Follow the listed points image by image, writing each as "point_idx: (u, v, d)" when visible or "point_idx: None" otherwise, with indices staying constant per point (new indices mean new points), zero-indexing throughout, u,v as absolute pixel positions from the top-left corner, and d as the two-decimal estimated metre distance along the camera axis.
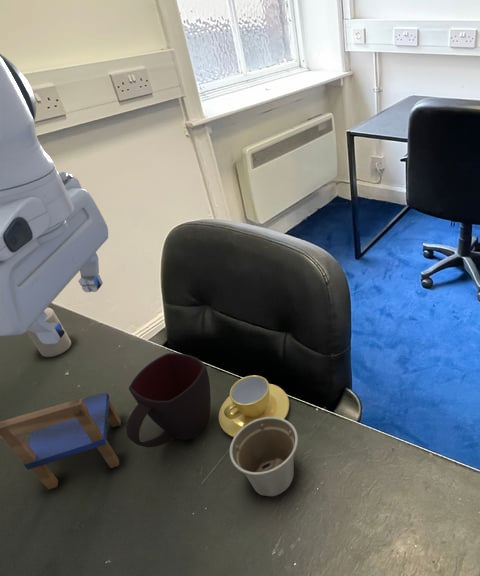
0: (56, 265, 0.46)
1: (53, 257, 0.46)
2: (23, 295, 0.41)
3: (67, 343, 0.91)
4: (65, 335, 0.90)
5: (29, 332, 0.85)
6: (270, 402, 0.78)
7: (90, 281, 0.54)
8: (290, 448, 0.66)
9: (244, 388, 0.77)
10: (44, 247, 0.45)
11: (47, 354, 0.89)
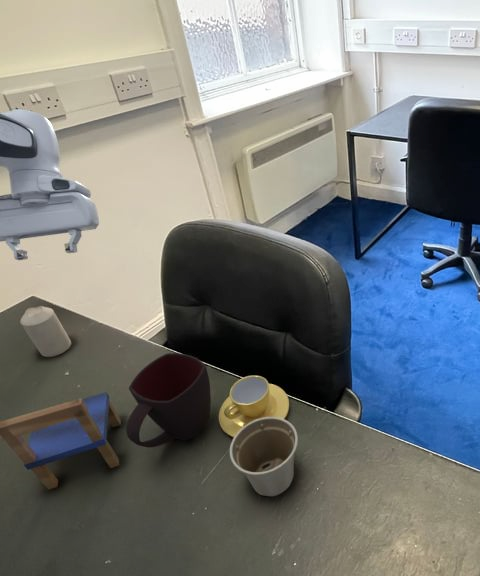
0: None
1: None
2: None
3: (67, 343, 0.91)
4: (65, 335, 0.90)
5: (29, 332, 0.85)
6: (270, 402, 0.78)
7: (25, 251, 0.90)
8: (290, 448, 0.66)
9: (244, 388, 0.77)
10: None
11: (47, 354, 0.89)
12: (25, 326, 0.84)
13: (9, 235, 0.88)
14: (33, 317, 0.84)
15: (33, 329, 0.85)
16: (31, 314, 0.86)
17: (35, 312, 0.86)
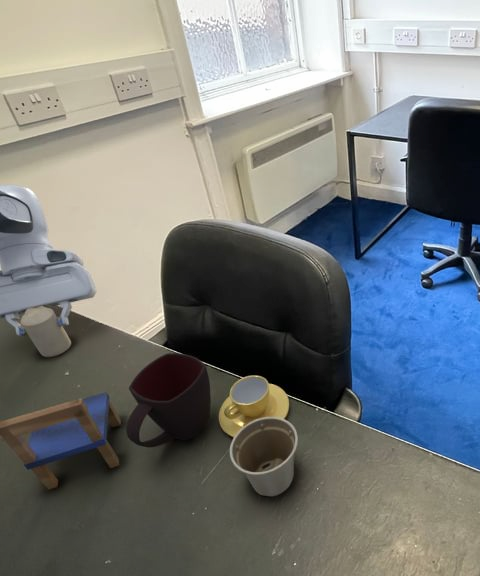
0: None
1: None
2: None
3: (67, 343, 0.91)
4: (65, 335, 0.90)
5: (29, 332, 0.85)
6: (270, 402, 0.78)
7: None
8: (290, 448, 0.66)
9: (244, 388, 0.77)
10: None
11: (47, 354, 0.89)
12: (25, 326, 0.84)
13: (2, 313, 0.85)
14: (33, 317, 0.84)
15: (33, 329, 0.85)
16: (31, 314, 0.86)
17: (35, 312, 0.86)
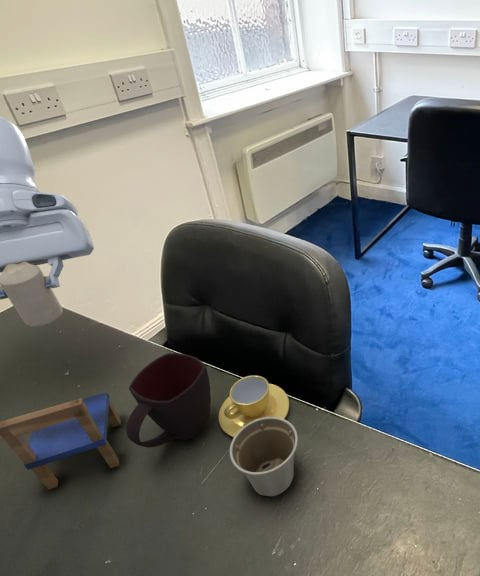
0: None
1: None
2: None
3: (58, 310, 0.73)
4: (55, 300, 0.73)
5: (9, 294, 0.68)
6: (270, 402, 0.78)
7: None
8: (290, 448, 0.66)
9: (244, 388, 0.77)
10: None
11: (32, 323, 0.71)
12: (4, 286, 0.67)
13: None
14: (14, 274, 0.67)
15: (13, 290, 0.67)
16: (11, 271, 0.68)
17: (17, 269, 0.69)
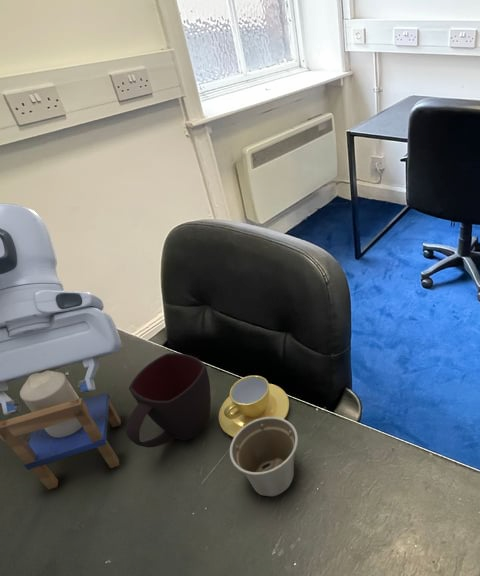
0: None
1: None
2: None
3: None
4: None
5: (32, 408, 0.61)
6: (270, 402, 0.78)
7: (18, 400, 0.63)
8: (290, 448, 0.66)
9: (244, 388, 0.77)
10: None
11: (57, 434, 0.65)
12: (27, 401, 0.61)
13: None
14: (38, 389, 0.61)
15: (37, 405, 0.61)
16: (35, 383, 0.62)
17: (40, 380, 0.62)
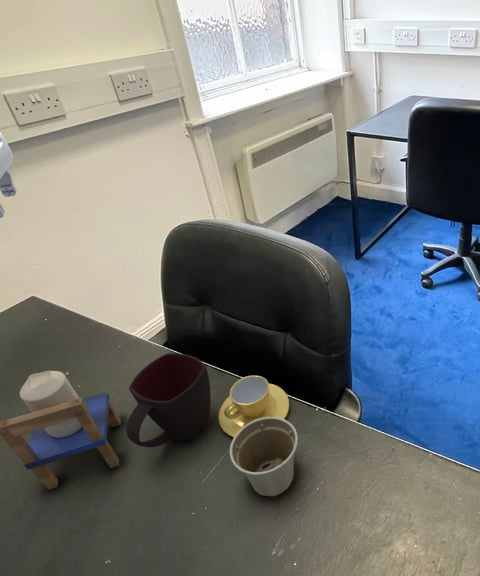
0: None
1: None
2: None
3: None
4: None
5: (32, 408, 0.61)
6: (270, 402, 0.78)
7: (9, 187, 0.77)
8: (290, 448, 0.66)
9: (244, 388, 0.77)
10: None
11: (57, 434, 0.65)
12: (26, 401, 0.60)
13: None
14: (38, 389, 0.61)
15: (37, 405, 0.61)
16: (34, 383, 0.62)
17: (40, 380, 0.62)
